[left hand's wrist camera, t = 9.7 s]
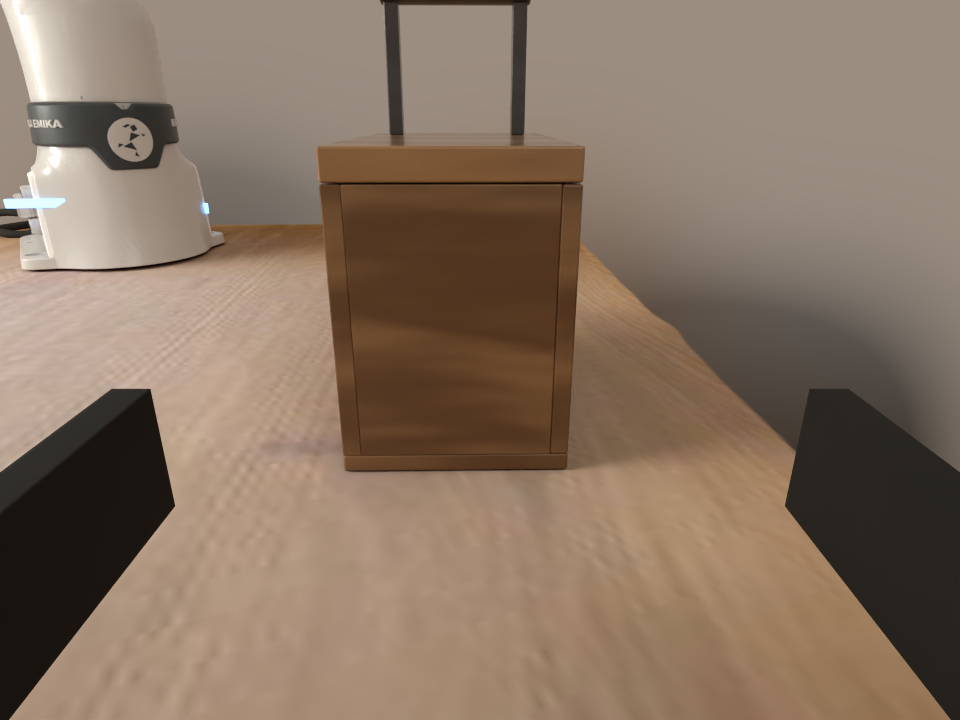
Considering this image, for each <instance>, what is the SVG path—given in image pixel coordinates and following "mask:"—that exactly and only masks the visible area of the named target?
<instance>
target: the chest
mask: <svg viewBox="0 0 960 720" xmlns="http://www.w3.org/2000/svg"><path fill="white" fill-rule="evenodd" d="M319 192H320V203H321V214H322V225H323V236H324V247H325V258H326V269H327V280H328V291H329V302H330V313H331V324H332V335H333V346H334V356H335V367H336V378H337V389H338V400H339V411H340V422H341V433H342V444H343V454H344V464H345V470H346V471H375V470H477V469H565V468H566V467H567V451H568V436H569V419H570V402H571V384H572V367H573V350H574V333H575V316H576V299H577V281H578V264H579V247H580V230H581V213H582V196H583V185H582V184H580V183H323V184H321V185H319Z"/></svg>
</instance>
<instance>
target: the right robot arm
mask: <svg viewBox="0 0 960 720" xmlns="http://www.w3.org/2000/svg"><path fill="white" fill-rule="evenodd" d="M0 3H1V5H2V8H3V10H4V13H5V15H6V18H7V21H8V24H9V27H10V30H11V33H12V36H13V39H14V42H15V45H16V48H17V52H18V55H19V58H20V62H21V66H22V69H23V73H24V76H25V80H26V84H27V88H28V92H29V96H30V100H31V102H34V103H29V104H28V105H27V111H28V118H29V119H28V126H29V127H30V130H31V136H32V142H33V143H34V144H35V145H37V146H38V147H37V157H36V162H35V164H34V165H33V166H32V167H31V172H29V173H28V174H27V175H28V179H29V183H30V185H28V186H20V192H21V194H15V195H13V198H14V199H4V203H5V207H6V208H16V209H0V216H19V217H21V218H30V219H29V220H28V221H23V222H16V223H10V224H3V225H0V236H3V237H8V238H20V260H21V267H22V269H24V270H41V269H109V268H124V267H135V266H144V265H152V264H159V263H165V262H171V261H176V260H181V259H185V258H189V257H193V256H196V255H199V254H202V253H204V252H206V251H208V250H209V249H210V248H211V247H212V246H215V245H219V244H222V243H224V242H225V239H224V236H223V233H221V232H215V231H211V228H210V223H209V219H208V214H207V213H209V209H208V204H207V203H205V201H204V197H203V192H202V188H201V184H200V179H199V175H198V171H197V168H196V166H195V165H194V164H192V163H191V162H190V161H189V160H187V159H186V158H185V157H184V156H183V155H182V154H181V153H180V151H179V150H178V148H177V146H176V144H175V143H177V142H178V141H179V137H178V131H177V126H178V125H177V120H176V119H175V116H174V111H173V107H172V106H171V105H170V104H160V103H167V98H166V92H165V86H164V80H163V74H162V68H161V62H160V56H159V50H158V44H157V39H156V33H155V27H154V24H153V22H152V20H151V18H150V16H149V14H148V12H147V11H146V10H145V8H144V7H143V6H142V4H141V3H140V2H139V1H138V0H0ZM27 228H29V229H30V230H29V231H15V230H21V229H27Z"/></svg>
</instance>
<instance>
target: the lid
mask: <svg viewBox="0 0 960 720" xmlns="http://www.w3.org/2000/svg"><path fill="white" fill-rule="evenodd" d="M530 1H531V0H380V2H381V4H382V5H383V7H384V28H385V48H386V68H387V88H388V108H389V129H390V133H380V134H375V135H370V136H365V137H360V138H356V139H350V140H346V141H341V142H336V143H331V144H327V145H321V146H318V147H316V156H317V167H318V177H319V182H321V183H580V182H582V181H583V177H584V160H585V147H584V146H581V145H578V144H574V143H570V142H566V141H562V140H559V139H555V138H551V137H547V136H544V135H540V134H536V133H524V119H525V77H526V36H527V6H528V5H529V4H530ZM399 5H512V46H511V107H510V133H404V115H403V92H402V67H401V43H400V19H399Z"/></svg>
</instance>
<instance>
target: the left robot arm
mask: <svg viewBox="0 0 960 720" xmlns="http://www.w3.org/2000/svg"><path fill="white" fill-rule="evenodd" d="M174 507H175V503H174V498H173V494H172V489H171V484H170V480H169V475H168V470H167V465H166V461H165V456H164V451H163V447H162V442H161V437H160V432H159V428H158V423H157V418H156V414H155V409H154V404H153V399H152V395H151V390H150V389H111V390H110V391H108V392H107V393H106V394H104V395H103V396H102V397H100V398H99V399H98V400H96V401H95V402H94V403H92V404H91V405H90V406H88V407H87V408H86V409H84V410H83V411H82V412H80V413H79V414H78V415H76V416H75V417H74V418H72V419H71V420H70V421H68V422H67V423H66V424H64V425H63V426H62V427H60V428H59V429H58V430H56V431H55V432H54V433H52V434H51V435H50V436H48V437H47V438H46V439H44V440H43V441H42V442H40V443H39V444H38V445H36V446H35V447H34V448H32V449H31V450H29V451H28V452H27V453H25V454H24V455H23V456H21V457H20V458H19V459H17V460H16V461H15V462H13V463H12V464H11V465H9V466H8V467H7V468H5V469H4V470H3V471H1V472H0V720H9V719H10V718H11V716H12V715H13V714H14V713H15V711H16V710H17V709H18V707H19V706H20V705H21V704H22V702H23V701H24V700H25V698H26V697H27V696H28V695H29V693H30V692H31V691H32V689H33V688H34V687H35V686H36V684H37V683H38V682H39V680H40V679H41V678H42V677H43V675H44V674H45V673H46V671H47V670H48V669H49V668H50V666H51V665H52V664H53V662H54V661H55V660H56V659H57V657H58V656H59V655H60V653H61V652H62V651H63V650H64V648H65V647H66V646H67V644H68V643H69V642H70V641H71V639H72V638H73V637H74V635H75V634H76V633H77V632H78V630H79V629H80V628H81V626H82V625H83V624H84V623H85V621H86V620H87V619H88V617H89V616H90V615H91V614H92V612H93V611H94V610H95V608H96V607H97V606H98V604H99V603H100V602H101V601H102V599H103V598H104V597H105V595H106V594H107V593H108V592H109V590H110V589H111V588H112V586H113V585H114V584H115V583H116V581H117V580H118V579H119V577H120V576H121V575H122V574H123V572H124V571H125V570H126V568H127V567H128V566H129V565H130V563H131V562H132V561H133V559H134V558H135V557H136V556H137V554H138V553H139V552H140V550H141V549H142V548H143V547H144V545H145V544H146V543H147V541H148V540H149V539H150V538H151V536H152V535H153V534H154V532H155V531H156V530H157V529H158V527H159V526H160V525H161V523H162V522H163V521H164V520H165V518H166V517H167V516H168V514H169V513H170V512H171V511H172V509H173V508H174ZM785 507H786V508H787V509H788V511H789V512H790V513H791V514H792V516H793V517H794V518H795V520H796V521H797V522H798V523H799V525H800V526H801V527H802V529H803V530H804V531H805V532H806V534H807V535H808V536H809V538H810V539H811V540H812V541H813V543H814V544H815V545H816V547H817V548H818V549H819V550H820V552H821V553H822V554H823V556H824V557H825V558H826V559H827V561H828V562H829V563H830V565H831V566H832V567H833V568H834V570H835V571H836V572H837V574H838V575H839V576H840V577H841V579H842V580H843V581H844V583H845V584H846V585H847V586H848V588H849V589H850V590H851V592H852V593H853V594H854V595H855V597H856V598H857V599H858V601H859V602H860V603H861V604H862V606H863V607H864V608H865V610H866V611H867V612H868V614H869V615H870V616H871V617H872V619H873V620H874V621H875V623H876V624H877V625H878V626H879V628H880V629H881V630H882V632H883V633H884V634H885V635H886V637H887V638H888V639H889V641H890V642H891V643H892V644H893V646H894V647H895V648H896V650H897V651H898V652H899V653H900V655H901V656H902V657H903V659H904V660H905V661H906V662H907V664H908V665H909V666H910V668H911V669H912V670H913V671H914V673H915V674H916V675H917V677H918V678H919V679H920V680H921V682H922V683H923V684H924V686H925V687H926V688H927V689H928V691H929V692H930V693H931V695H932V696H933V697H934V698H935V700H936V701H937V702H938V704H939V705H940V706H941V707H942V709H943V710H944V711H945V713H946V714H947V715H948V716H949V718H950V719H951V720H960V472H959V471H957V470H956V469H955V468H953V467H952V466H951V465H949V464H948V463H947V462H945V461H944V460H943V459H941V458H940V457H939V456H937V455H936V454H935V453H933V452H932V451H930V450H929V449H928V448H926V447H925V446H924V445H922V444H921V443H920V442H918V441H917V440H916V439H914V438H913V437H912V436H910V435H909V434H908V433H906V432H905V431H904V430H902V429H901V428H900V427H898V426H897V425H896V424H894V423H893V422H892V421H890V420H889V419H888V418H886V417H885V416H884V415H882V414H881V413H880V412H878V411H877V410H876V409H874V408H873V407H872V406H870V405H869V404H868V403H866V402H865V401H864V400H862V399H861V398H860V397H858V396H857V395H856V394H854V393H853V392H852V391H850V390H849V389H810V390H809V395H808V399H807V404H806V409H805V414H804V418H803V423H802V428H801V433H800V437H799V442H798V447H797V451H796V456H795V461H794V465H793V470H792V475H791V480H790V484H789V489H788V494H787V498H786V503H785Z"/></svg>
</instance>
